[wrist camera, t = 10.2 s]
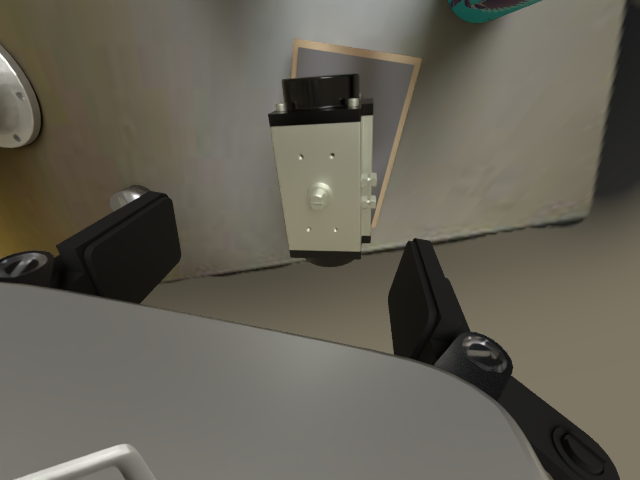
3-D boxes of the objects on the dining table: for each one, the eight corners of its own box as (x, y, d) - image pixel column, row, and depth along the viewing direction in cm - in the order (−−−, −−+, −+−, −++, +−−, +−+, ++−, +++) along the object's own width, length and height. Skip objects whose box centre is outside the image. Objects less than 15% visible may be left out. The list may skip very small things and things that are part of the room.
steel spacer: (130, 216, 37) (116, 225, 35) (121, 181, 35) (105, 188, 33) (165, 223, 37) (153, 232, 35) (159, 188, 34) (145, 196, 32)
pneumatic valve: (317, 208, 29) (288, 285, 18) (306, 76, 22) (254, 82, 12) (372, 208, 28) (373, 289, 18) (376, 70, 22) (380, 71, 11)
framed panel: (289, 199, 32) (281, 211, 29) (301, 41, 24) (292, 38, 21) (374, 215, 32) (375, 229, 29) (417, 59, 24) (423, 58, 21)
